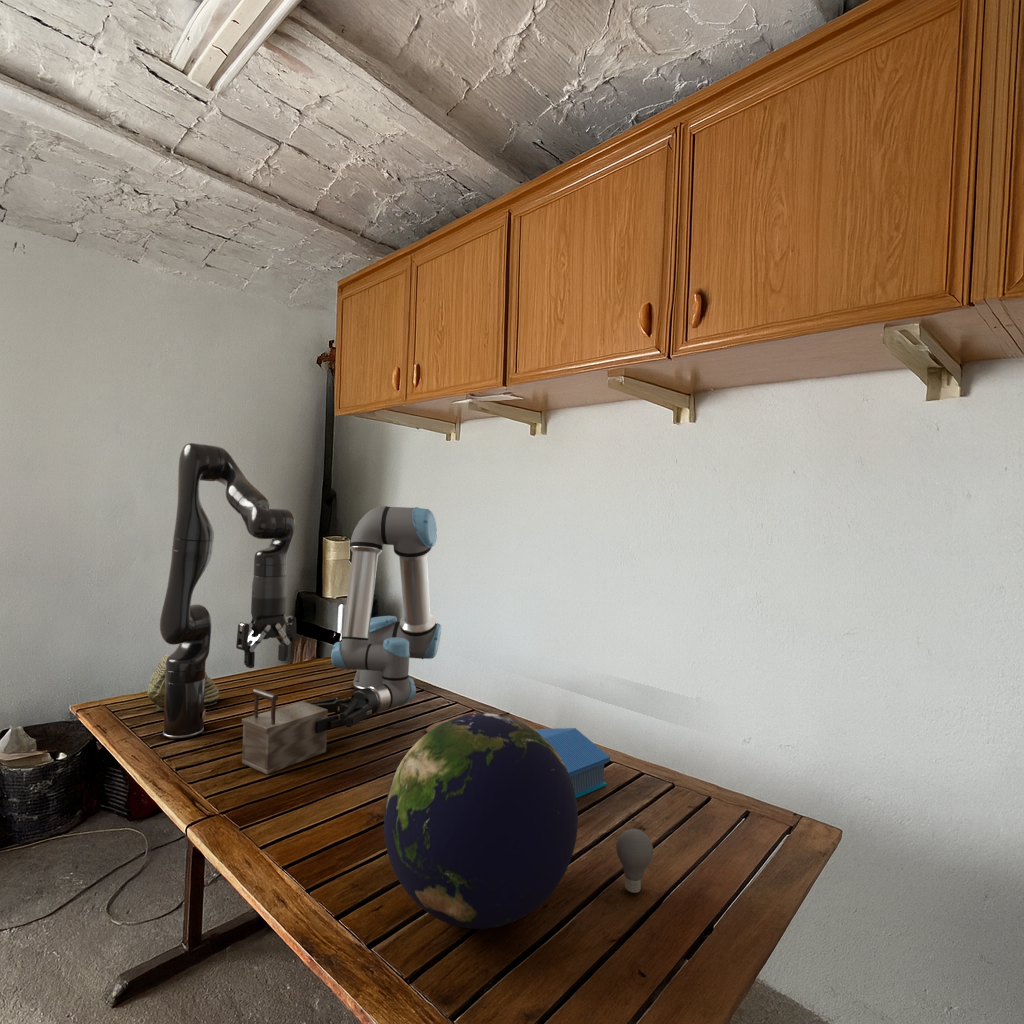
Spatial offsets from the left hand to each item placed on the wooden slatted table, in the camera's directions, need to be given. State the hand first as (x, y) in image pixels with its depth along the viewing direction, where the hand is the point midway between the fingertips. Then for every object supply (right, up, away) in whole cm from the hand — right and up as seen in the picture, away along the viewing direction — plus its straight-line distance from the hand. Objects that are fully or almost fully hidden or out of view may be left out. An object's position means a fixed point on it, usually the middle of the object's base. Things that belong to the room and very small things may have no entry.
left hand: (266, 663), depth 147 cm
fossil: (-39, -22, +38) cm, 58 cm away
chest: (+2, -24, +6) cm, 25 cm away
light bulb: (+77, -28, -42) cm, 92 cm away
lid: (+3, -14, +5) cm, 16 cm away
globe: (+52, -27, -48) cm, 76 cm away
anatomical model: (+40, -25, +28) cm, 55 cm away
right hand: (+5, -17, +9) cm, 20 cm away
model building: (+58, -27, -9) cm, 65 cm away
